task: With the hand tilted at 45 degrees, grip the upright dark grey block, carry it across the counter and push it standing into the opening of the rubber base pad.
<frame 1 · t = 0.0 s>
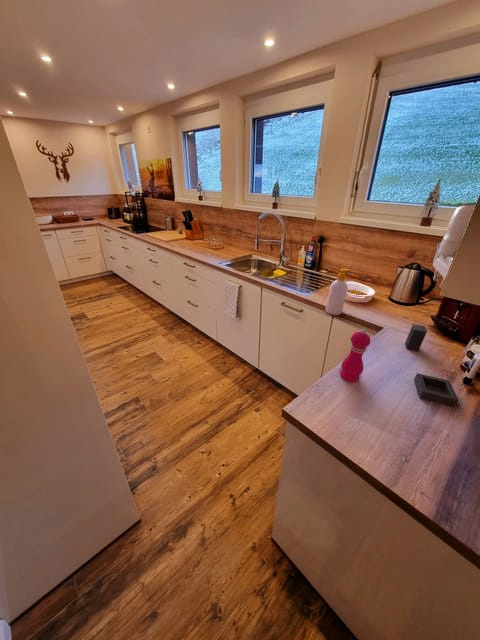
hand: (438, 284, 104), 28 cm above the worktop, tool pointing down, fingers open, 8 cm apart
pepper mill: (349, 377, 95), on the worktop
base pad: (432, 392, 90), on the worktop
dark grey block: (411, 347, 114), on the worktop
white oval dish: (353, 296, 164), on the worktop
soap bottle: (333, 312, 143), on the worktop
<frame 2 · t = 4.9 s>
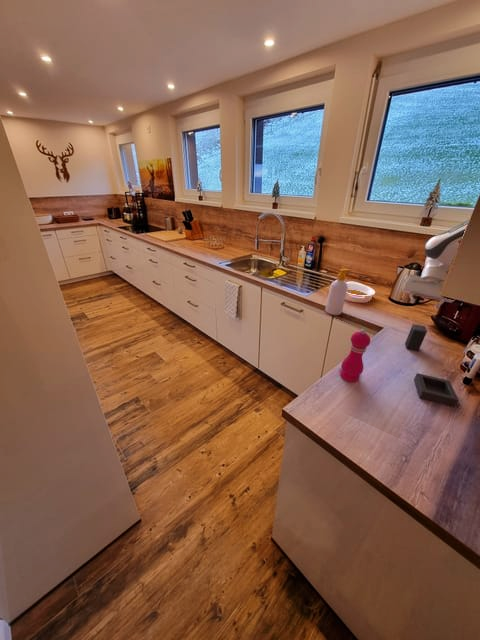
hand: (424, 305, 116), 16 cm above the worktop, tool tilted 45°, fingers open, 8 cm apart
nothing on the worktop moved.
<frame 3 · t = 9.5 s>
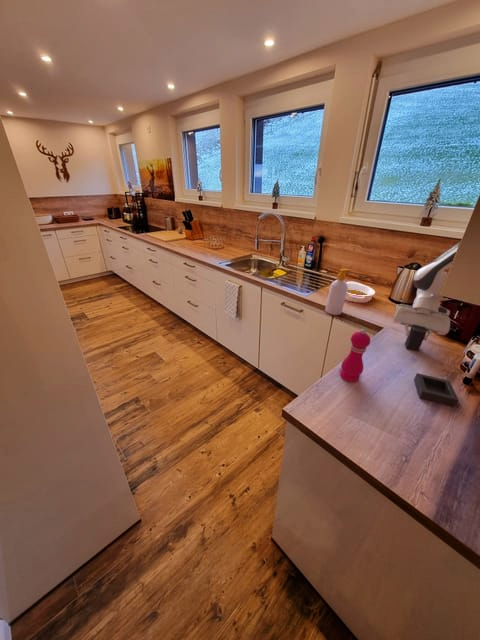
hand: (415, 337, 111), 5 cm above the worktop, tool tilted 45°, fingers closed on dark grey block, 5 cm apart
dark grey block: (411, 347, 114), on the worktop, touching gripper
everything else where it was.
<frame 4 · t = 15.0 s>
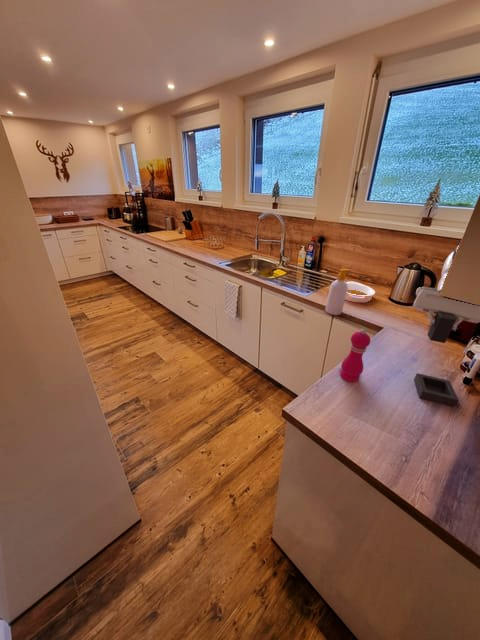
hand: (442, 326, 91), 19 cm above the worktop, tool tilted 45°, fingers closed on dark grey block, 5 cm apart
dark grey block: (435, 338, 94), point 14 cm above the worktop, touching gripper
everything else where it was.
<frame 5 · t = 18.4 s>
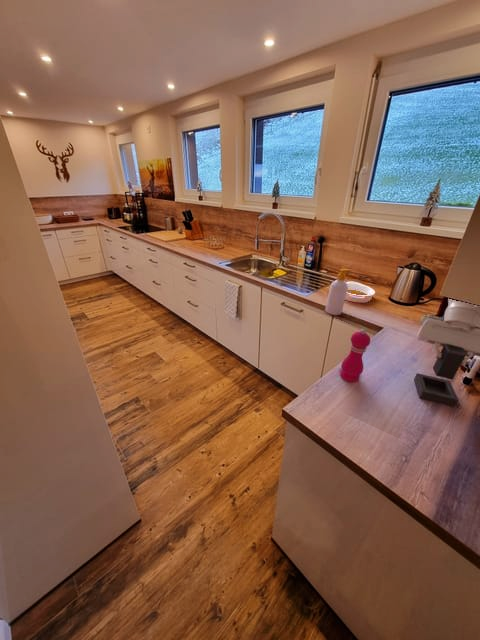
hand: (449, 361, 83), 14 cm above the worktop, tool tilted 45°, fingers closed on dark grey block, 5 cm apart
dark grey block: (442, 373, 86), point 8 cm above the worktop, touching gripper
everything else where it was.
when the fingers open (6 cm above the worktop, at t = 21.0 s): dark grey block stays where it is, resting on base pad.
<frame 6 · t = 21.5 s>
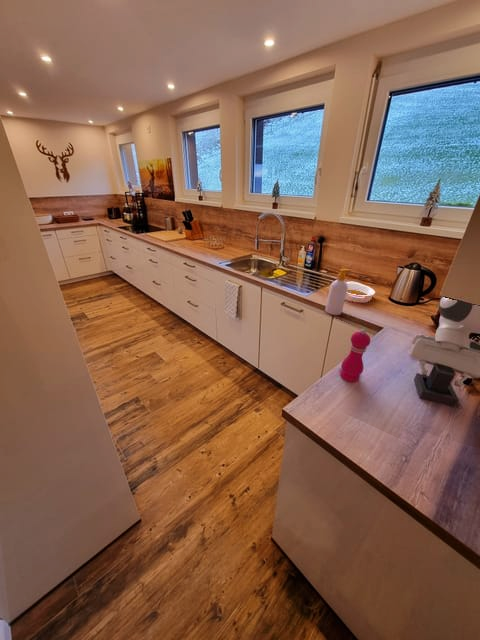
hand: (440, 380, 86), 6 cm above the worktop, tool tilted 45°, fingers open, 8 cm apart
dark grey block: (433, 391, 89), point 1 cm above the worktop, touching base pad
everything else where it was.
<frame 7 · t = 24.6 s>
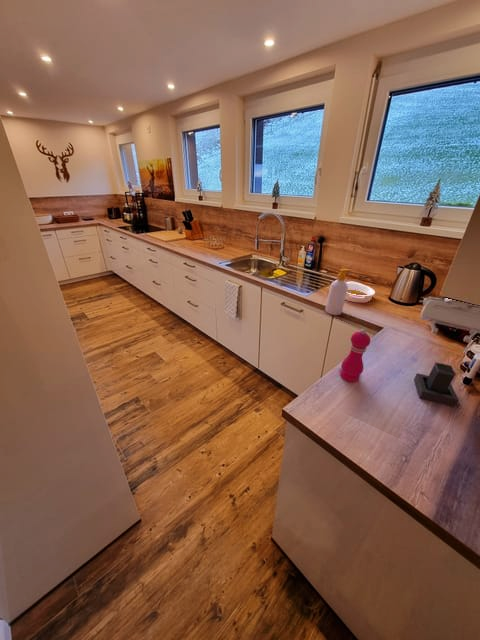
hand: (449, 337, 91), 16 cm above the worktop, tool tilted 45°, fingers open, 8 cm apart
nothing on the worktop moved.
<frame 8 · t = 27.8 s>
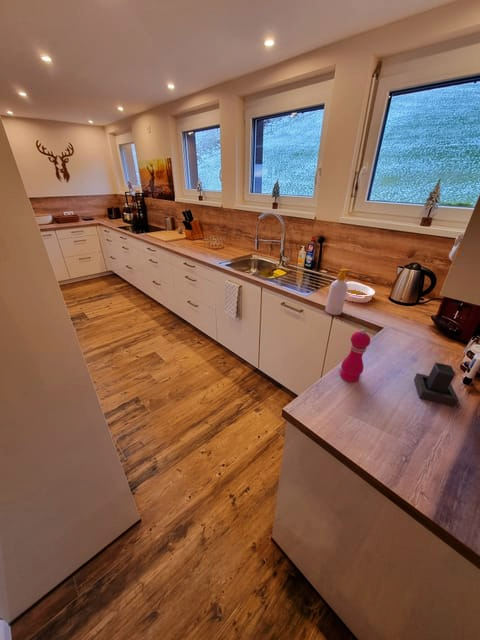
hand: (475, 276, 95), 34 cm above the worktop, tool pointing down, fingers open, 8 cm apart
nothing on the worktop moved.
at the end: dark grey block 0.1 cm off-centre in the base pad, point 0.6 cm above the base pad's base; dark grey block tilted 0°; the gripper is holding nothing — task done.
